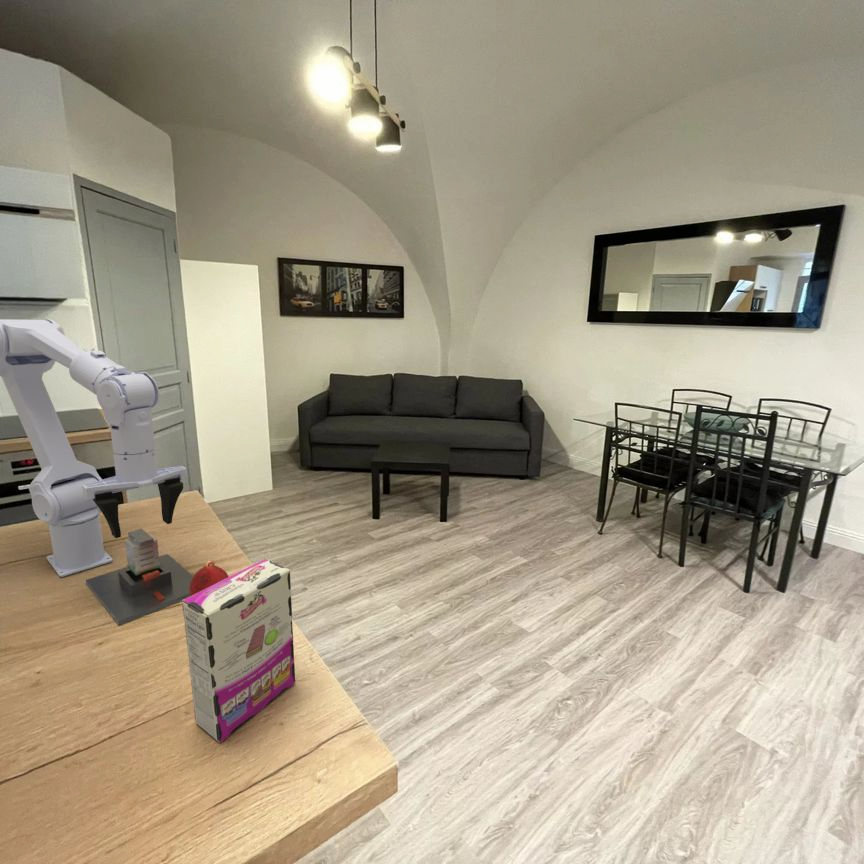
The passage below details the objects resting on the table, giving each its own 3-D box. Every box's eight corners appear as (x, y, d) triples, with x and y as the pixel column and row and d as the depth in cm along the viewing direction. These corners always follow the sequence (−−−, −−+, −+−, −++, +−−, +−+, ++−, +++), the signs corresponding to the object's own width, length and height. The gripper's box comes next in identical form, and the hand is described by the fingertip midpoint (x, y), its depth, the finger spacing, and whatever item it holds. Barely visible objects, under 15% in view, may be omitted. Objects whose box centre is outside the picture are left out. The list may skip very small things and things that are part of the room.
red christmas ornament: (216, 621, 73) (212, 573, 71) (183, 614, 74) (178, 568, 72) (238, 599, 79) (236, 555, 77) (207, 594, 80) (204, 550, 78)
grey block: (125, 565, 80) (122, 533, 79) (150, 557, 83) (147, 527, 82) (137, 577, 77) (133, 544, 76) (162, 568, 80) (159, 536, 79)
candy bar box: (270, 667, 64) (265, 556, 60) (296, 683, 62) (293, 568, 58) (191, 725, 55) (179, 597, 51) (218, 746, 52) (208, 614, 49)
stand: (86, 584, 81) (83, 564, 80) (167, 557, 91) (166, 539, 90) (119, 625, 71) (116, 603, 70) (206, 591, 81) (205, 570, 80)
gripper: (87, 464, 68) (99, 551, 72) (192, 447, 79) (197, 523, 82) (74, 454, 73) (85, 536, 76) (174, 438, 84) (180, 511, 87)
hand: (142, 528), depth 79 cm, fingers open, 7 cm apart
